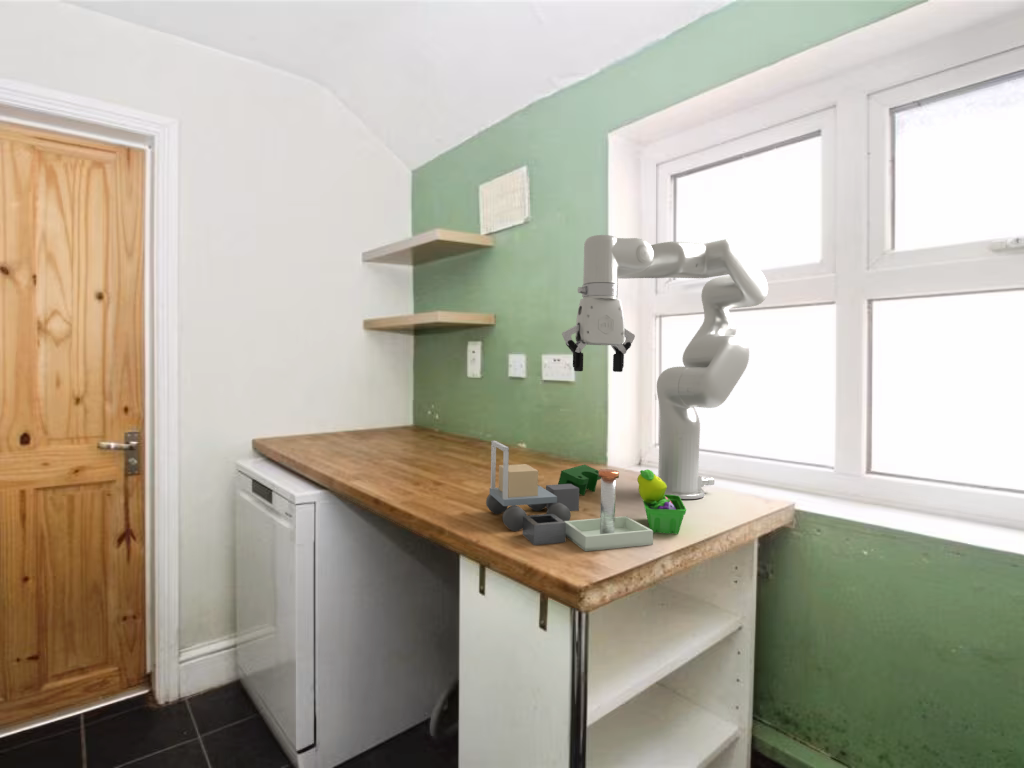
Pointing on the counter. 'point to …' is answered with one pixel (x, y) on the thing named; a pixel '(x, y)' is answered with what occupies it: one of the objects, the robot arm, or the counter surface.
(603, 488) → the pin
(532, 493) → the trolley
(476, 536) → the counter surface
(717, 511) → the counter surface
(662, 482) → the fruit basket
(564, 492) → the grey rectangular block
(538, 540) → the bracket
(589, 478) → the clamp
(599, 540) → the tray
